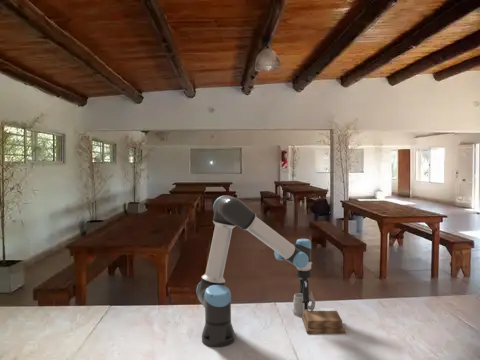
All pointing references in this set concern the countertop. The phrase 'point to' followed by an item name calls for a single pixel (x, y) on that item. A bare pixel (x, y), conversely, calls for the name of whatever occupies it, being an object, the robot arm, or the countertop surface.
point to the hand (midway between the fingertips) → (304, 310)
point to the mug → (301, 304)
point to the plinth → (323, 322)
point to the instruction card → (326, 309)
